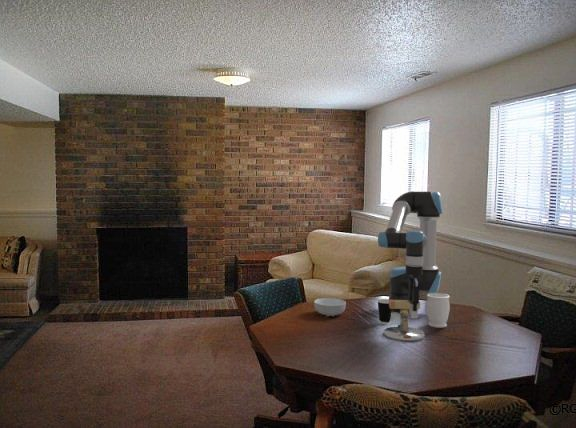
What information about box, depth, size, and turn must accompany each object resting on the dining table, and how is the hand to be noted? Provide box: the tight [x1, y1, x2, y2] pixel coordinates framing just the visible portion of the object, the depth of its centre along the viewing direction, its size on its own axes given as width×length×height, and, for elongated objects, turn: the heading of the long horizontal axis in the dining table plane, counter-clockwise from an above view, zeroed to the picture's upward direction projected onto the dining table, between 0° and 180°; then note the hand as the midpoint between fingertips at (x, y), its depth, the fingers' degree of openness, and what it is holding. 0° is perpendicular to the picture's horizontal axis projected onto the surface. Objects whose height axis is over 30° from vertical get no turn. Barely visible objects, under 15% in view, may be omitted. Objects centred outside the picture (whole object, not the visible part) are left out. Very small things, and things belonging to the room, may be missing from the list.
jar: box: [426, 292, 451, 329], centre depth 235 cm, size 11×10×15 cm
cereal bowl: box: [313, 297, 347, 317], centre depth 255 cm, size 17×17×7 cm
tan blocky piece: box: [389, 300, 421, 331], centre depth 219 cm, size 7×13×13 cm, turn 86°
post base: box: [383, 316, 425, 343], centre depth 220 cm, size 18×18×8 cm
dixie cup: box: [376, 298, 393, 325], centre depth 240 cm, size 8×8×11 cm
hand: (413, 316), depth 219 cm, fingers closed on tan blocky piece, 4 cm apart
